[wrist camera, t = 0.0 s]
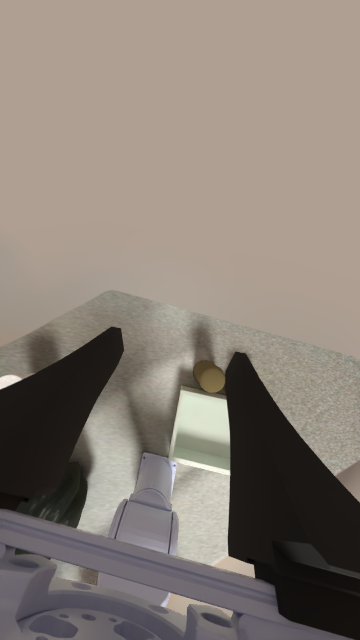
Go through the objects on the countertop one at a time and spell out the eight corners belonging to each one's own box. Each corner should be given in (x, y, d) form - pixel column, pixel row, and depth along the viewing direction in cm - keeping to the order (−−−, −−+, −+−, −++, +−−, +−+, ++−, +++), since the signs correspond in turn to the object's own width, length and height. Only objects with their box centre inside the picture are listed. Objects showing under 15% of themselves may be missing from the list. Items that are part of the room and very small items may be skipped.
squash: (19, 445, 33) (-85, 585, 20) (92, 448, 34) (35, 589, 21) (44, 472, 41) (-21, 588, 28) (104, 474, 41) (67, 591, 28)
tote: (245, 464, 37) (255, 481, 32) (169, 446, 38) (167, 460, 33) (252, 400, 39) (262, 407, 34) (181, 385, 40) (181, 390, 35)
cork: (212, 357, 42) (223, 358, 31) (220, 381, 40) (234, 391, 30) (190, 364, 41) (192, 368, 31) (197, 388, 40) (202, 401, 29)
